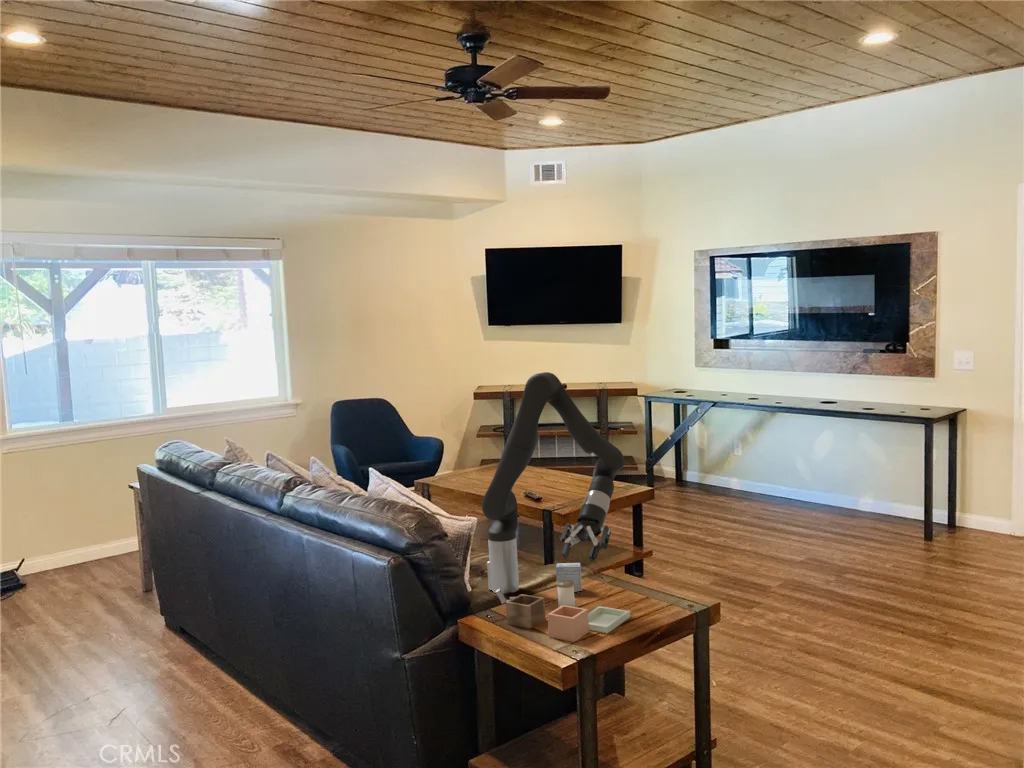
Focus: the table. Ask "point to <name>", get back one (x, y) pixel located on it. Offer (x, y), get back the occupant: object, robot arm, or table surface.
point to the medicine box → (570, 574)
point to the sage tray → (606, 619)
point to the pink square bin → (568, 623)
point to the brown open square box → (525, 611)
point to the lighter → (502, 596)
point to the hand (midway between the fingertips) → (577, 558)
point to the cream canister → (566, 593)
